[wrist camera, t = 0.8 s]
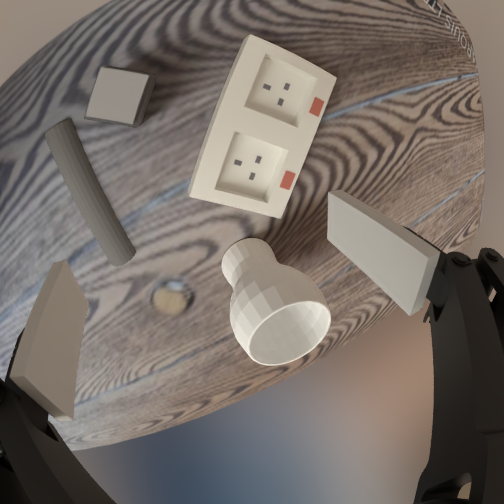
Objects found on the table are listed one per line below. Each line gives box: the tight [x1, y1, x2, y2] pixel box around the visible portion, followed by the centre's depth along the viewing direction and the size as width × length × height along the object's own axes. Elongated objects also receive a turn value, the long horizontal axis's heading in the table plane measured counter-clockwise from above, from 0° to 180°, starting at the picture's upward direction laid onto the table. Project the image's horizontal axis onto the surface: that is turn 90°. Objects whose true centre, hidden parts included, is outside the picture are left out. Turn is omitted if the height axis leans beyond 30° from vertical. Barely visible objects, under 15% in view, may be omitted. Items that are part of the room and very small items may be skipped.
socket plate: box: [188, 34, 337, 219], centre depth 29 cm, size 12×20×2 cm, turn 159°
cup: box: [221, 238, 331, 365], centre depth 33 cm, size 11×11×15 cm
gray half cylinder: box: [45, 120, 136, 266], centre depth 27 cm, size 4×20×2 cm, turn 16°
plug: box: [84, 65, 156, 128], centre depth 20 cm, size 5×5×8 cm
